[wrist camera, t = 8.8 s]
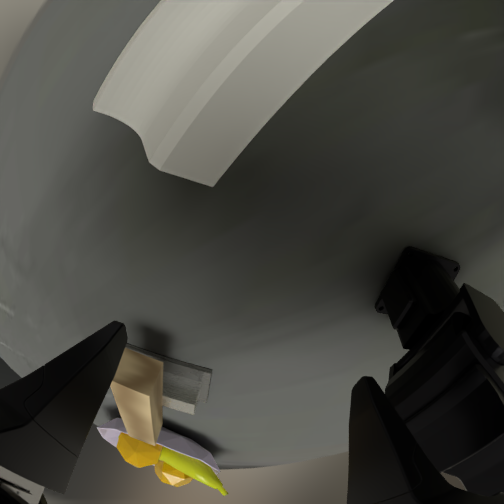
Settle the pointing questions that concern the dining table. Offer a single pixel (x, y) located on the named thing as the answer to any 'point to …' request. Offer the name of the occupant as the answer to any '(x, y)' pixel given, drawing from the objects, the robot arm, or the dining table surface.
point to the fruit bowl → (165, 455)
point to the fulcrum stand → (181, 382)
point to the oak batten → (139, 395)
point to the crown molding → (220, 74)
